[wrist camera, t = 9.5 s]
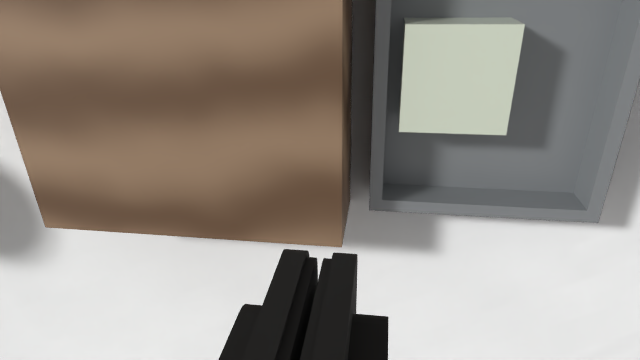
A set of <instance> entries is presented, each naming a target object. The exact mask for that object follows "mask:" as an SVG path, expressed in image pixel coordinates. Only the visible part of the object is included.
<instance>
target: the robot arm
mask: <svg viewBox="0 0 640 360" xmlns="http://www.w3.org/2000/svg"><path fill="white" fill-rule="evenodd" d="M356 294H357V254H346V253H333V256H332V259H326V258H324V259H323V262H322V267H321V271H320V275H319V279H318V269H317V258H313V257H309V252H308V251H304V250H290V249H284V250H283V252H282V255H281V257H280V260H279V263H278V265H277V268H276V271H275V273H274V276H273V279H272V281H271V284H270V287H269V289H268V292H267V295H266V297H265V300H264V303H263V305H262V306H261V305H250V304H245V305H243V306H242V308H241V310H240V312H239V314H238V316H237V319H236V321H235V323H234V326H233V328H232V330H231V332H230V335H229V337H228V339H227V342H226V344H225V346H224V349H223V351H222V353H221V355H220V358H219V360H388V317H385V316H374V315H363V314H356Z"/></svg>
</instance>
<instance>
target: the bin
mask: <svg viewBox="0 0 640 360" xmlns="http://www.w3.org/2000/svg"><path fill="white" fill-rule="evenodd" d="M482 17H512V18H514V19H516V20H518V21H519V22H521V23H523V24H525V27H524V33H523V39H522V45H521V51H520V57H519V63H518V68H517V74H516V80H515V86H514V92H513V98H512V104H511V110H510V116H509V122H508V127H507V133H506V135H481V134H449V133H417V132H399V117H398V116H399V99H400V82H401V65H402V48H403V31H404V18H482ZM639 80H640V0H376V19H375V49H374V79H373V110H372V140H371V170H370V201H369V210H375V211H393V212H411V213H429V214H447V215H465V216H483V217H501V218H519V219H537V220H555V221H573V222H591V223H598V222H599V218H600V215H601V211H602V208H603V205H604V201H605V198H606V194H607V191H608V187H609V184H610V180H611V177H612V173H613V170H614V167H615V163H616V160H617V156H618V153H619V149H620V146H621V142H622V139H623V135H624V132H625V128H626V125H627V122H628V118H629V115H630V111H631V108H632V104H633V101H634V97H635V94H636V90H637V87H638V84H639Z"/></svg>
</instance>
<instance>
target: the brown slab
mask: <svg viewBox="0 0 640 360" xmlns="http://www.w3.org/2000/svg"><path fill="white" fill-rule="evenodd" d="M351 84H352V0H0V91H1V94H2V97H3V100H4V103H5V106H6V109H7V112H8V115H9V118H10V121H11V124H12V127H13V130H14V133H15V136H16V139H17V142H18V145H19V148H20V151H21V154H22V158H23V161H24V164H25V167H26V170H27V173H28V176H29V179H30V182H31V185H32V188H33V191H34V194H35V197H36V200H37V203H38V206H39V209H40V212H41V215H42V218H43V221H44V224H45V227H48V228H63V229H78V230H93V231H108V232H123V233H138V234H153V235H167V236H182V237H197V238H212V239H227V240H242V241H257V242H271V243H286V244H301V245H316V246H331V247H342V243H343V237H344V232H345V226H346V221H347V215H348V210H349V204H350V168H351Z"/></svg>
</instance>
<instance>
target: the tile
mask: <svg viewBox="0 0 640 360" xmlns="http://www.w3.org/2000/svg"><path fill="white" fill-rule="evenodd" d="M524 27H525V24H523V23H521V22H519V21H518V20H516V19H514V18H512V17H482V18H404V31H403V48H402V65H401V82H400V99H399V116H398V117H399V132H417V133H449V134H481V135H506V133H507V127H508V122H509V116H510V110H511V104H512V98H513V92H514V86H515V80H516V74H517V68H518V63H519V57H520V51H521V45H522V39H523V33H524Z"/></svg>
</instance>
